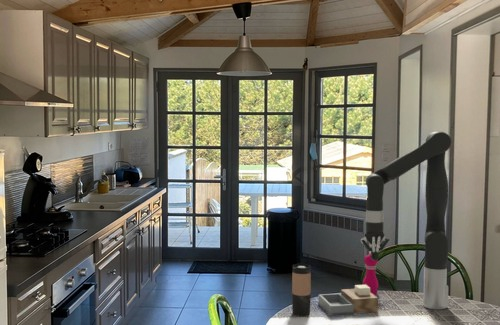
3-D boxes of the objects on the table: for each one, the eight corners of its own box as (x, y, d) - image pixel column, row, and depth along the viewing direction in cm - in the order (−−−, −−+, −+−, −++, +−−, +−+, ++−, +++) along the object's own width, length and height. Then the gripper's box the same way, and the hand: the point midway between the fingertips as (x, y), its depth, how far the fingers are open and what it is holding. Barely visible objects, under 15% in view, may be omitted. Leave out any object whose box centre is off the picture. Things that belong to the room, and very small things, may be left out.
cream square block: (365, 291, 243) (365, 284, 243) (370, 294, 238) (370, 287, 238) (354, 291, 242) (354, 285, 242) (359, 295, 237) (359, 288, 237)
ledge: (364, 301, 248) (364, 288, 248) (377, 311, 234) (377, 297, 234) (340, 302, 246) (341, 289, 245) (352, 313, 232) (352, 299, 232)
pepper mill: (378, 296, 255) (379, 253, 254) (362, 295, 256) (363, 252, 255) (378, 292, 262) (378, 249, 261) (362, 291, 263) (363, 249, 262)
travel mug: (312, 311, 234) (312, 264, 233) (308, 317, 227) (308, 268, 226) (294, 309, 237) (294, 262, 236) (289, 315, 230) (290, 267, 228)
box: (340, 302, 247) (340, 293, 247) (353, 314, 231) (353, 304, 231) (318, 303, 245) (318, 294, 245) (330, 315, 229) (330, 306, 229)
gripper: (385, 218, 246) (385, 257, 247) (356, 219, 244) (356, 258, 245) (392, 221, 239) (392, 261, 240) (363, 222, 237) (363, 263, 238)
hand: (374, 260), depth 243 cm, fingers closed
